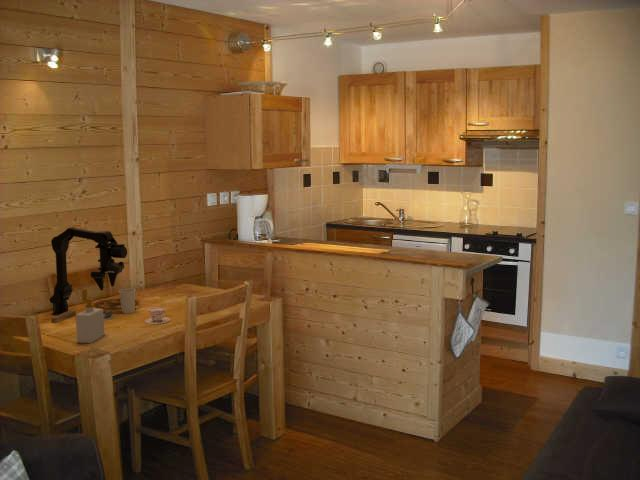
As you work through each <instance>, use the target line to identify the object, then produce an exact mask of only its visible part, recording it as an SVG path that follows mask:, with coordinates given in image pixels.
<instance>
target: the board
mask: <svg viewBox="0 0 640 480" xmlns="http://www.w3.org/2000/svg"><path fill="white" fill-rule="evenodd" d="M103 315H105V313H103ZM117 316H118V314H111V317H109V318H104V322H106V321H108V320H111V319H112V318H115V317H117Z"/></svg>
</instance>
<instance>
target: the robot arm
mask: <svg viewBox="0 0 640 480" xmlns="http://www.w3.org/2000/svg"><path fill="white" fill-rule="evenodd" d="M74 237H75V238H81V239H87V240H92V242H95V243H97V245H95V247H94V248H95V249H99V253H98V254H99V259H97V262H98V263H99V266H100V267H99V268H98V269H95V270H92V271H91V272H90V278H92V279H93V280H94V282H95V283H96V285H97V286H98V288H99V290H100V291H104V280H105V279H106V278H107V277H106V275H107V276H108V279H109V283H110V286H111V287H114V286H115V283H116V279H117V277H118V275H119V274H120V273H122V272H123V269H125V262H124V261H119V262H115V259H126V258H127V255H128V250H127V247H126V246H125V244H124V243H121V244H119V243H118V242H117V240H116V239H115V238H114V236H113V234H112V232H111V231H109V230H103V231H101V230H100V231H95V230H89V229H83V228H79V227H78V228H77V227H75V226H72V227H68V228H66V229H65V230H64V231H63V232H61V233H59V234H58V235H57V236H54V237H52V239H51V240H50V241H51V247H52V250H53V252H54V255H55V266H56V267H55V268H56V269H55V270H56V283H55V285H54V287H53V288H54V289H53V294H52V296H51V297H50V298H49V303H50V304H52V312H51V313H50V314H51V315H55V316H57V315H60V314H62V313H64V312H67V311H69V304H68V301H69V300H70V297H71V295H72V293H73V284H72V283H69V281H68V268H67V251H68V249H69V245H70V241H71V240H73V238H74Z"/></svg>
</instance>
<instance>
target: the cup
mask: <svg viewBox="0 0 640 480" xmlns="http://www.w3.org/2000/svg"><path fill="white" fill-rule="evenodd" d="M118 292H119V301H120V307H121V313H122V314H133V313H135V312H136V308H135V307H136V289H135V288H123V289H119V290H118Z"/></svg>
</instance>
